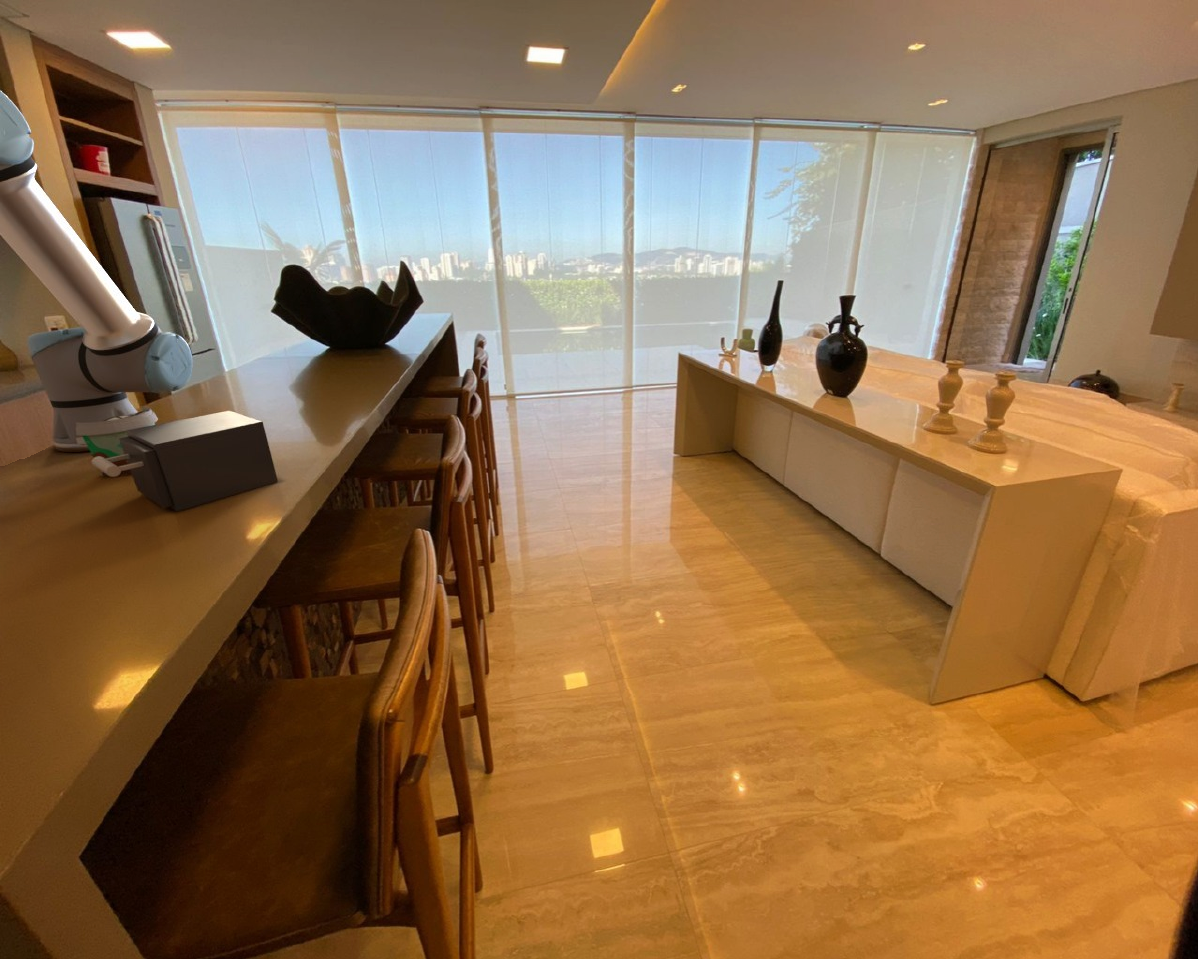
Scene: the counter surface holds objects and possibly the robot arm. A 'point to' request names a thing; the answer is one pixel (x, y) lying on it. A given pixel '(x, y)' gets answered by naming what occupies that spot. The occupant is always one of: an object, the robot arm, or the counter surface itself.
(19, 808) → the counter surface
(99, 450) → the food container
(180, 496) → the cabinet
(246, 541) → the counter surface
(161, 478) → the drawer
